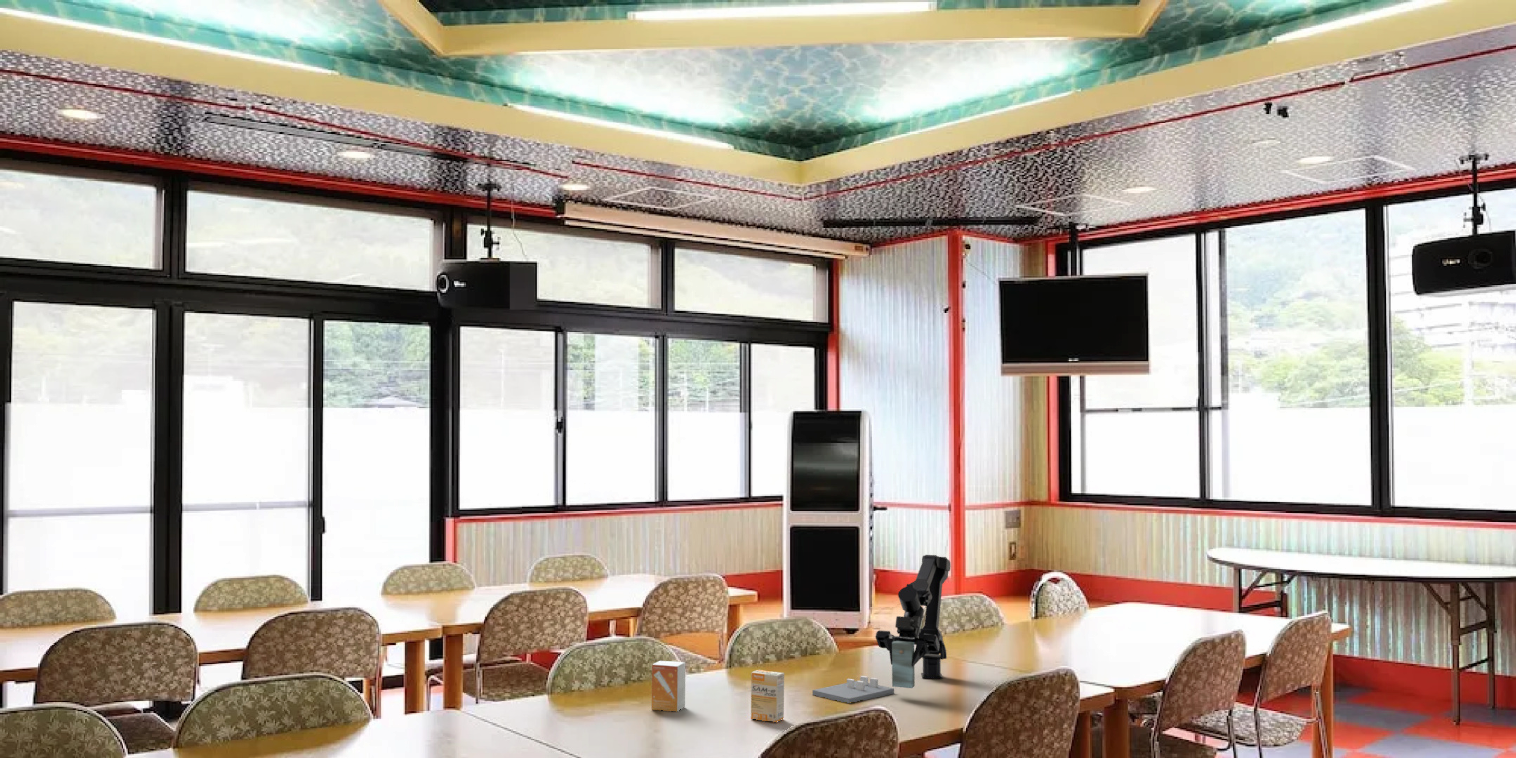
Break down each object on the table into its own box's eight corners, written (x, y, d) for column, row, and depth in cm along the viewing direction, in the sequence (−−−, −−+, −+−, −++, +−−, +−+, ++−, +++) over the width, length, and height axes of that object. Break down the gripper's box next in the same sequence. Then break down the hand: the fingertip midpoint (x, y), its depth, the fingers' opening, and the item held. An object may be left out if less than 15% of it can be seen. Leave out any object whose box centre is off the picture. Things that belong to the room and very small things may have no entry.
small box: (651, 710, 332) (651, 664, 332) (659, 705, 338) (659, 660, 338) (677, 712, 329) (677, 665, 330) (685, 707, 335) (685, 661, 336)
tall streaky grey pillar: (895, 684, 350) (894, 640, 350) (914, 686, 347) (914, 642, 348) (891, 686, 346) (891, 642, 347) (911, 688, 344) (910, 644, 344)
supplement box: (750, 720, 320) (750, 672, 321) (758, 716, 325) (758, 669, 325) (776, 723, 317) (776, 675, 317) (784, 719, 321) (784, 671, 321)
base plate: (857, 685, 364) (857, 672, 365) (894, 693, 353) (894, 680, 353) (812, 695, 351) (812, 681, 351) (848, 703, 340) (848, 689, 340)
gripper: (877, 603, 355) (865, 646, 345) (936, 607, 348) (927, 651, 337) (885, 625, 362) (874, 668, 352) (943, 629, 355) (934, 673, 344)
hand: (901, 664), depth 346 cm, fingers closed on tall streaky grey pillar, 6 cm apart
